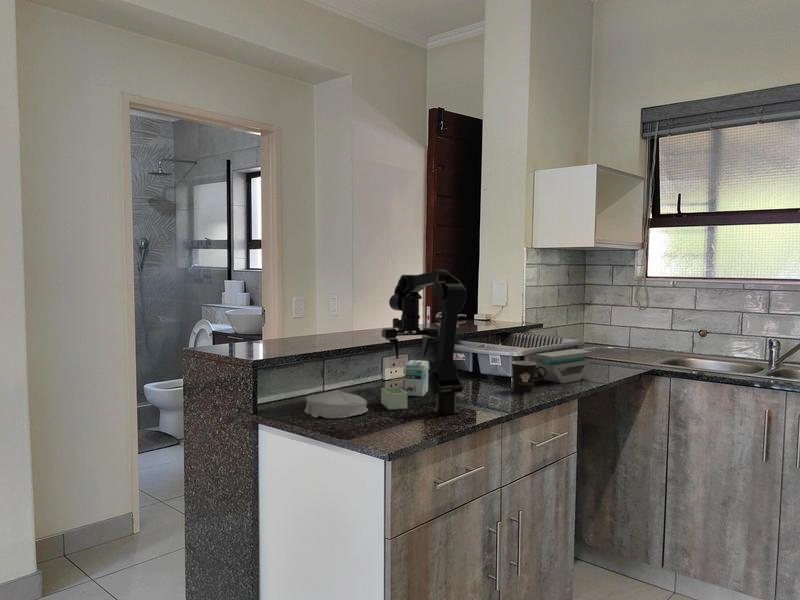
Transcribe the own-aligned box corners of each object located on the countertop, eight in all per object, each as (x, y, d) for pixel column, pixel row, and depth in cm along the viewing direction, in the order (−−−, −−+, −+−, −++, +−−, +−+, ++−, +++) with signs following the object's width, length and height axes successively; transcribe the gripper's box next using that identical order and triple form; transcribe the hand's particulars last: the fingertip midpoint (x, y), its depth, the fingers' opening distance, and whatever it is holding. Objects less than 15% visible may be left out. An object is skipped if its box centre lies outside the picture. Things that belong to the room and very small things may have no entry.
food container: (291, 410, 193) (291, 388, 193) (346, 400, 205) (346, 380, 205) (324, 425, 177) (324, 401, 177) (381, 414, 189) (382, 392, 189)
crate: (407, 409, 195) (408, 393, 195) (388, 410, 193) (389, 394, 193) (398, 402, 204) (399, 387, 204) (380, 403, 202) (380, 387, 202)
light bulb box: (423, 396, 212) (424, 365, 211) (404, 395, 213) (404, 364, 213) (428, 390, 222) (429, 360, 222) (409, 389, 224) (410, 359, 223)
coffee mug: (507, 391, 223) (508, 363, 222) (515, 387, 231) (516, 360, 230) (540, 395, 218) (541, 366, 217) (546, 390, 225) (547, 363, 224)
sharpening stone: (574, 375, 256) (575, 349, 255) (590, 378, 250) (591, 351, 249) (534, 382, 241) (535, 354, 240) (551, 385, 235) (552, 356, 234)
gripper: (429, 310, 220) (428, 354, 220) (377, 310, 215) (377, 355, 215) (439, 312, 209) (439, 358, 210) (385, 313, 204) (385, 360, 205)
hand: (410, 358), depth 210 cm, fingers open, 9 cm apart
